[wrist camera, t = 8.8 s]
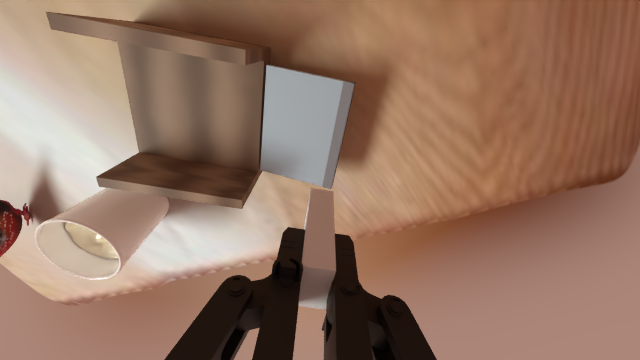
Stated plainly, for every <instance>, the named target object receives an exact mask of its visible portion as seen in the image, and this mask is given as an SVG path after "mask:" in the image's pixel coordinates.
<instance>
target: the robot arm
mask: <svg viewBox="0 0 640 360" xmlns="http://www.w3.org/2000/svg"><path fill="white" fill-rule="evenodd" d="M326 304H327V309H326V311H327V313H326V316H325V319H324V323H323V326H322V330H323V331H324V360H437V359H436V357H435V356H434V354H433V352H432V350H431V348H430V346H429V345H428V343H427V341H426V339H425V337H424V335H423V333H422V331H421V330H420V328H419V326H418V324H417V322H416V320H415V318H414V316H413V315H412V313H411V311H410V309H409V307H408V306H407V304H406V303H405V302H404V301H402V300H401V299H400V298H398V297H396V296H392V295H387V296H384V297H383V298H382V299H380V298H378V297H376V296H374V295H371V294H370V293H368V292H367V291H365V290H364V289H363V288H362V286H361V284H360V283H359V280H358V275H357V267H356V259H355V252H354V243H353V241H352V240H351V238H350V236H347V235H341V234H335V229H334V201H333V191H327V190H320V189H314V188H311V190H310V196H309V202H308V207H307V213H306V218H305V226H304V229H297V228H290V227H288V228H287V229H286V230H285V231H284V232H283V235H282V239H281V244H280V248H279V252H278V257H277V260H275V262H274V264H273V269H272V274H271V275H269V276H268V277H266V278H265V279H261V280H256V281H251V280H250V279H249V278H247V277H245V276H241V275H236V276H232V277H230V278H227V279H226V280H225V281H224V282H223V283H222V284H221V285H220V287H219V288H218V290H217V291H216V292H215V293H214V295H213V296H212V298H211V299H210V300H209V302H208V303H207V304H206V305H205V307H204V308H203V309H202V311H201V312H200V313H199V315H198V316H197V317H196V319H195V320H194V321H193V323H192V324H191V325H190V327H189V328H188V329H187V331H186V332H185V333H184V335H183V336H182V337H181V338H180V340H179V341H178V343H177V344H176V345H175V346H174V348H173V349H172V350H171V352H170V353H169V354H168V356H167V357H166V359H165V360H233V359H234V358H235V356H236V354H237V352H238V350H239V348H240V346H241V345H242V343H243V341H244V339H245V337H246V335H247V333H248V331H249V330H251V329H255V328H260V329H259V333H258V337H257V341H256V346H255V350H254V354H253V358H252V360H292V359H293V351H294V341H295V332H296V323H297V314H298V313H297V312H298V306H304V307H311V308H319V309H325V307H326Z"/></svg>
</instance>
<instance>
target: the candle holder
mask: <svg viewBox="0 0 640 360" xmlns="http://www.w3.org/2000/svg"><path fill="white" fill-rule="evenodd" d="M168 210H169V200H168V198H167V197H163V196H156V195H150V194H143V193H137V192H131V191H124V190H118V189H112V188H105V189H104V190H102V191H100V192H98V193H96V194H95V195H93V196H91V197H89V198H87V199H86V200H84V201H82V202H80V203H78V204H77V205H75V206H73V207H71V208H69V209H68V210H66V211H64V212H62V213H60V214H59V215H57V216H55V217H53V218H51V219H49V220H47V221H45V222H43V223H41V224H40V225H39V226H38V227H37V229H36V231H35V242H36V245H37V247H38V248H39V250H40V251H41V253H42V254H43V255H44V256H45V257H46V258H47V259H48V260H49V261H50V262H51V263H53V264H54V265H55V266H57V267H59V268H60V269H62V270H64V271H66V272H68V273H70V274H72V275H75V276H78V277H82V278H86V279H93V280H103V279H108V278H111V277H113V276H115V275H117V274H118V273H119V272H120V271H121V269H122V267H123V266H124V265H125V264H126V262H127V261H128V260H129V259H130V258H131V256H132V255H133V254H134V253H135V252H136V250H137V249H138V248H139V247H140V246H141V244H142V243H143V242H144V241H145V240H146V238H147V237H148V236H149V235H150V233H151V232H152V231H153V230H154V229H155V227H156V226H157V225H158V224H159V223H160V221H161V220H162V219H163V218H164V216H165V215H166V214H167V212H168Z"/></svg>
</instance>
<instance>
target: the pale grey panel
mask: <svg viewBox="0 0 640 360" xmlns="http://www.w3.org/2000/svg"><path fill="white" fill-rule="evenodd" d="M355 84H356V83H355V82H351V81H346V80H341V79H336V78H332V77H327V76H322V75H317V74H313V73H308V72H303V71H298V70H294V69H289V68H284V67H279V66H275V65H266V82H265V99H264V115H263V132H262V149H261V166H260V170H262V171H266V172H270V173H273V174H277V175H281V176H285V177H288V178H292V179H296V180H300V181H303V182H307V183H311V184H315V185H318V186H322V187H325V188H329V189H331V188H332V185H333V181H334V177H335V172H336V168H337V164H338V159H339V155H340V150H341V146H342V141H343V137H344V133H345V128H346V124H347V119H348V115H349V110H350V106H351V101H352V97H353V93H354V88H355Z"/></svg>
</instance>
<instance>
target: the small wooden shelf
mask: <svg viewBox="0 0 640 360" xmlns="http://www.w3.org/2000/svg"><path fill="white" fill-rule="evenodd" d="M46 14H47V17H48V20H49V24H50V27H51V29H53V30H58V31H64V32H69V33H74V34H80V35H85V36H90V37H96V38H101V39H106V40H112V41H117V42H118V47H119V52H120V57H121V62H122V67H123V73H124V78H125V83H126V88H127V93H128V98H129V103H130V108H131V113H132V118H133V123H134V128H135V133H136V139H137V144H138V149H139V153H138V154H136V155H134V156H132V157H131V158H129V159H127V160H125V161H124V162H122V163H120V164H118V165H117V166H115V167H113V168H111V169H110V170H108V171H106V172H104V173H102V174H101V175H99V176H97V177H96V178H97V182H98V185H99V187H105V188H112V189H118V190H124V191H131V192H137V193H143V194H150V195H156V196H163V197H169V198H175V199H182V200H188V201H194V202H201V203H207V204H213V205H220V206H226V207H232V208H239V209H242V208H243V206H244V204H245V202H246V200H247V198H248V197H249V195H250V193H251V191H252V189H253V187H254V185H255V183H256V182H257V180H258V178H259V176H260V174H261V172H262V170H260V166H261V149H262V132H263V115H264V99H265V82H266V65H269V64H270V48H268V47H262V46H257V45H252V44H247V43H242V42H236V41H231V40H226V39H221V38H215V37H210V36H205V35H200V34H195V33H189V32H184V31H179V30H174V29H168V28H163V27H158V26H153V25H148V24H142V23H137V22H131V21H122V20H113V19H105V18H96V17H87V16H78V15H69V14H61V13H52V12H46Z"/></svg>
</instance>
